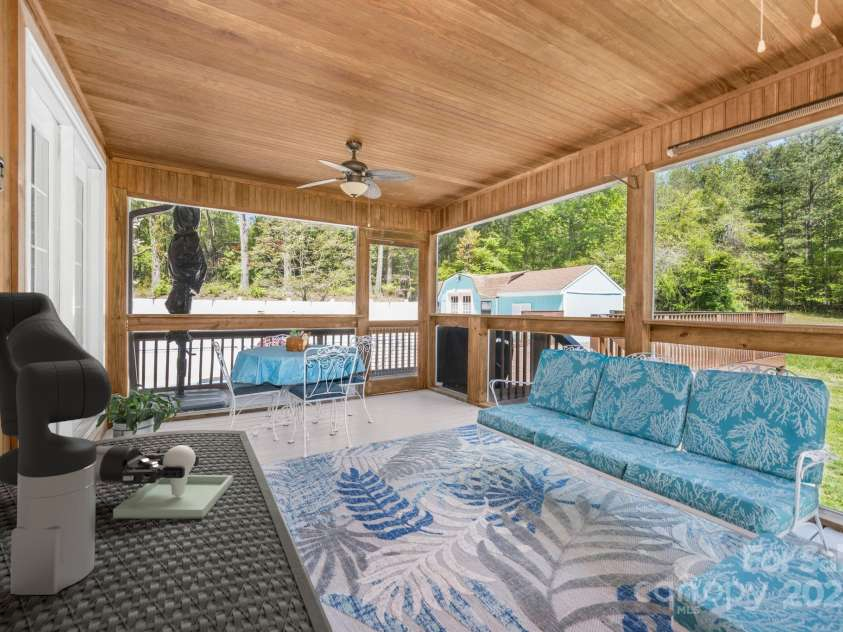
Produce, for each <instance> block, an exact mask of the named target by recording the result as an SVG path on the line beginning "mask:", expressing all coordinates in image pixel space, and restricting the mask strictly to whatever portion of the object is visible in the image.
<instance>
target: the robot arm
mask: <svg viewBox="0 0 843 632" xmlns="http://www.w3.org/2000/svg"><path fill="white" fill-rule="evenodd" d="M112 392H113V391H112V383H111V379H110V376H109V374H108V372H107V370H106V368H105V366H104V365H103V363H102V362H100V361H99V360H98V359H97V358H96V357H94V356H93V355H92V354H90V353H89V352H88V351H86V349H84V348H83V347H82V346H81V345H80V343H79V342H78V341H77V339H76V337H75V336H74V335H73V333H72V332H71V331H70V329H69V328H68V327H67V326H66V325H65V323H64V322H63V321H62V320H61V318H60V317H59V314H58V312H57V309H56V307H55V305H54V303H53V301H52V299H51V298H50V297H49V296H48V295H47V294H45V293H42V292H36V291H34V292H32V291H27V292H26V291H25V292H23V291H21V292H18V291H17V292H16V291H15V292H12V291H9V292H7V291H5V292H3V291H2V292H0V429H1V433H2V434H3V435H4V436H6V437H16V439H17V443H18V445H17V446H18V447H17V448H14V449H10V450H8V451H6V452H5V453H3V454H1V455H0V483H3V484H6V485H9V486H17V495H16V496H17V500H16V504H17V506H16V508H17V509H16V527H15V528H14V529H12V531H11V536H10V538H11V541H10V542H11V543H10V547H11V548H10V595H11V594H15V595H14V596H34V595H36V596H37V595H38V596H40V595H46V596H47V595H48V596H49V595H50V596H51V595H57V594H58V593H59V592H60V591H61V590H63V589H66V588H68V587H69V586H72V585H75V584H76V583H78V582H80V581H81V580H83V579H84V578H86V577H87V576H88V575H90V573H91V572H92V571H93V570H94V568H95V551H96V550H95V547H96V546H95V545H96V543H95V542H96V502H97V501H96V492H97V491H96V490H97V489H96V488H97V484H104V485H105V484H110V485H113V484H116V485H120V484H121V485H141V484H142V485H146V484H149V483H155V482H156V480H157V479H158V480H162V479H164V477H165V478H183V477H184V476H185V467H180V466H176V467H170V466H166V467H164V466H163V459H164V456H165V454H166V453H167V452H168V451H169V450H170V448H169V449H167V448H166V449H165V448H158V449H156V453H154V452H149V453H148V452H147V453H145V454H143V453H142V452H141V449H139V447H136V446H123V445H122V446H121V445H100V446H96V445H97V444H96V443H95V442H94V441H93V440H90V439H87V438H83V437H82V438H81V437H75V436H65V435H61V434H59V433H58V434H56V433H54V432H53V431H51V429H50V427H49V425H50V424H56V423H63V422H71V421H76V420H83V419H84V420H85V419H89V418H92V417H95V416H99V415H100V414H102V413H103V412H104V411H105V410H106V409H107V408H108V406H109V404H110V402H111V399H112ZM195 457H196V459H195V463H194V465H193V467H196V466H199V464H200V456H199V455H197V454H195Z"/></svg>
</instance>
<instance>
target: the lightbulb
mask: <svg viewBox="0 0 843 632" xmlns="http://www.w3.org/2000/svg"><path fill="white" fill-rule="evenodd" d="M195 455H196V453H195V451H194V450H193V449H192V448H191V447H190V446H188V445H183V444H182V445H179V444H178V445H176V446H173V447H172V448H169V451H168V452H167V453H166V454H165V456H164V459H163V466H164V467H166V466H170V467H176V466H180V467H185V476H184V477H183V478H170V485H171V487H172V488H171V489H172V490H171V491H172V495H174V496H176V497H179V496H181V495H182V494H184V493H185V486H186V483H187V478H188V475H190V472H191V471H192V468H193V467H194V466H193V465H194V463H195V459H196V457H195Z"/></svg>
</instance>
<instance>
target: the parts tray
mask: <svg viewBox="0 0 843 632" xmlns="http://www.w3.org/2000/svg"><path fill="white" fill-rule="evenodd" d="M233 483H234V475H233V474H231V475H227V474H222V475H220V474H218V475H217V474H214V475H213V474H188V478H187V483H186V486H185V493H184V494H182V495H181V496H179V497H176V496H174V495H172V491H171V490H172V489H171V488H172V487H171V485H170V478H165V477H164V479H162V480H158V479H157V480H156V482H155V483H149V484H144V485H143V486H141V488H140V489H138V490H137V491H135V492H134V493H133V494H132V495H130V496H129V497H127V498H126V499H124V501H123V502H121V503H120V504H118V505H117V506H115V507H114V508H113V510H112V513H113V514H112V518H113V519H148V520H149V519H151V520H152V519H153V520H154V519H159V520H160V519H166V520H167V519H168V520H169V519H171V520H172V519H175V520H177V519H179V520H181V519H182V520H183V519H185V520H186V519H187V520H189V519H190V520H192V519H193V520H194V519H195V520H196V519H197V520H198V519H201V520H203V519H204V518H205V516H206V515H207V514H208V513H209V512H210V510H211V509H212V508H213V507H214V506H215V505H216V503H217V502H218V501H219V500H220V499H221V498H222V497H223V495H224V494H225V493H226V491H228V489H230V487H231V486H232V485H233Z"/></svg>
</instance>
